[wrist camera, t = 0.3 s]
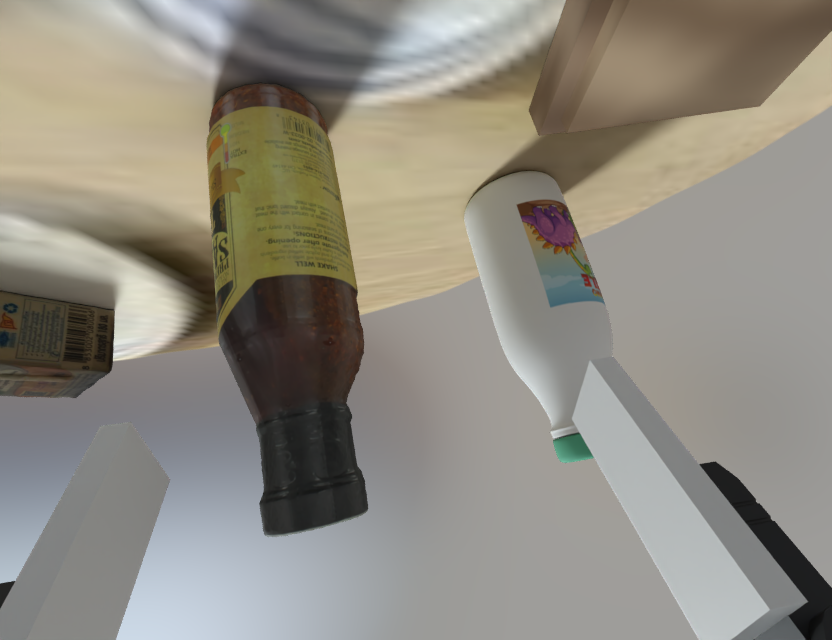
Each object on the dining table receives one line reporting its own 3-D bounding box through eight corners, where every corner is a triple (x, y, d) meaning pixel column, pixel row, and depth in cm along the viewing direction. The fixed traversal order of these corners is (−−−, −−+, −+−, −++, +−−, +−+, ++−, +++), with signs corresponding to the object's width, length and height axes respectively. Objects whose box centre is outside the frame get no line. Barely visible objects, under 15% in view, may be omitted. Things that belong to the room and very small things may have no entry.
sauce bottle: (182, 82, 19) (187, 563, 12) (317, 67, 20) (394, 515, 13) (234, 178, 25) (256, 536, 19) (337, 164, 26) (395, 505, 19)
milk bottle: (486, 239, 39) (554, 463, 32) (444, 204, 32) (519, 474, 25) (568, 198, 35) (665, 440, 28) (539, 150, 29) (656, 447, 22)
